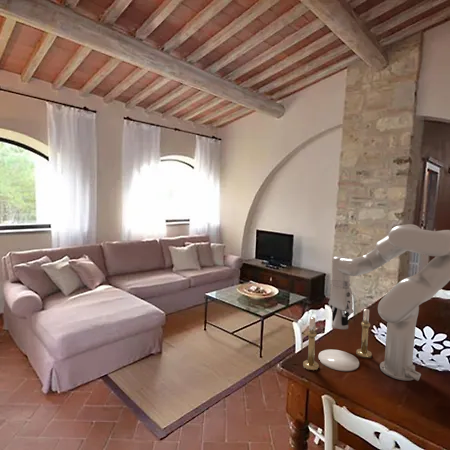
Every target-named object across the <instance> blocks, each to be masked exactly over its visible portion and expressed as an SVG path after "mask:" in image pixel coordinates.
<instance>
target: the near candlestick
mask: <svg viewBox="0 0 450 450" xmlns="http://www.w3.org/2000/svg"><path fill="white" fill-rule="evenodd" d="M308 326H309V328H308V331H306V333H307V336H308V345H307V346H308V347H307V349H308V350H307V359H306V360H304V361H303V362H302V367H303V368H304V369H305V368H306V369H308V370H307V371H309V370H313V371H312V372H315V371H314V370H316V371H318V370H319V369H318V368H319V363H318V362H317V361H315V352H316V351H315V349H316V348H315V347H316V344H315V343H316V337H317V336H318V335H317V334H318V333H317V331H316V317H314V316H312V317H311V316H310V317H309V323H308ZM306 369H305V370H306Z"/></svg>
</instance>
